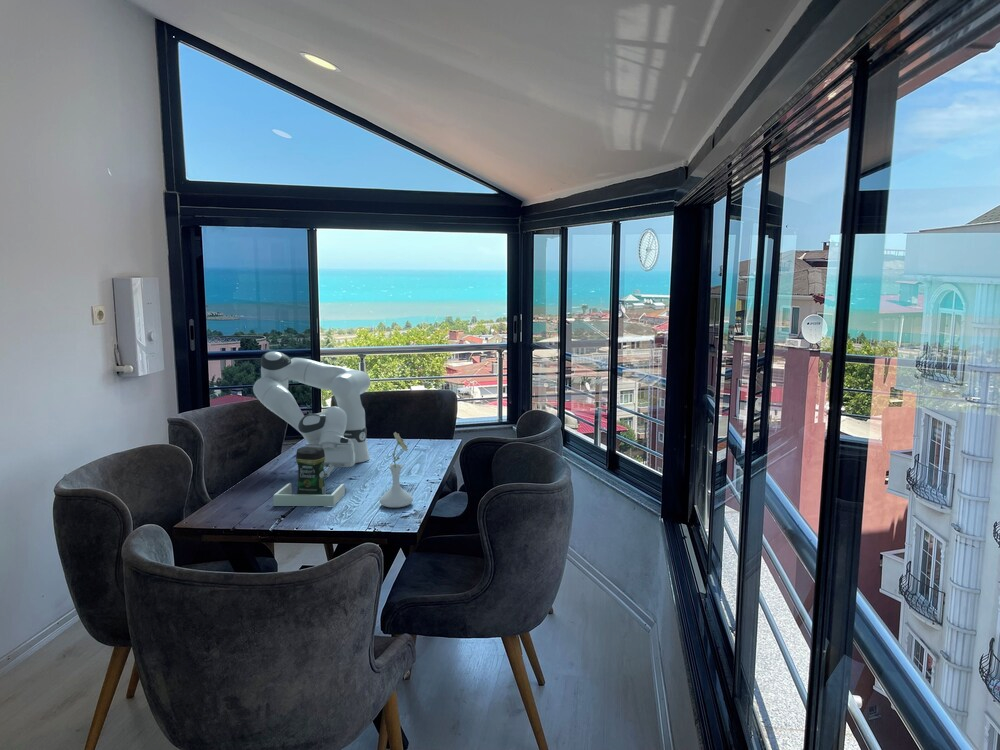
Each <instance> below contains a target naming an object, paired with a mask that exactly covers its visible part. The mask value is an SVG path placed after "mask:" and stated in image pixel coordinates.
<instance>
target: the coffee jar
mask: <svg viewBox="0 0 1000 750" xmlns="http://www.w3.org/2000/svg"><path fill="white" fill-rule="evenodd" d="M324 460H325V453H324V449H323V448H321V447H304V446H301V447H299V448H297V450H296V453H295V461H296V463H297V469H298V470H297V474H298V475H297V489H296V494H301V495H327V489H326V479H325V476H324V470H325V467H324Z"/></svg>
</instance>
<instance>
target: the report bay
mask: <svg viewBox="0 0 1000 750" xmlns="http://www.w3.org/2000/svg"><path fill="white" fill-rule="evenodd" d="M345 490H346V489H345V483H341V484H340V485H339V486H338V487H337V488H336V489H335V490H334V491H333V492H331V494H326V495H301V494H297V493H295V494H294V493H293V494H292V483H291V482H289V483H288V482H287V484H285V485H284V486H283V487H281V488H280V489H279V490H278V491H277V492H276V493H274V494H273V495H272V496H273V507H274V506H324V507H323V508H328V507H327V506H334V505H335V504H336V503H337V502H338V503H339V502H340V500H341V499H343V497H344V496H345V495H346V494H345V493H346V492H345ZM344 494H345V495H344ZM343 495H344V496H343ZM342 496H343V497H342ZM338 503H337V504H338ZM337 504H336V505H337ZM336 505H335V506H336ZM335 506H334V507H335Z"/></svg>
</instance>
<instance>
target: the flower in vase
mask: <svg viewBox="0 0 1000 750" xmlns="http://www.w3.org/2000/svg"><path fill="white" fill-rule="evenodd" d="M393 436H394V438H395V440H396V441H397V443H396V445H395V447H394V451H393V452H392V453H391V454H392V456H393V461H392V462H393V463H394V464H390V465H388V469H389V470H390V473H391V475H392V486H391V488H390V489H389V490H388V491H387V492H385V493H384V494H383V495H382V496H381V497H380V499H379V504H380V505H382V506H384V507H387V508H392V509H395V508H403V507H406V506H409V505H411V504H412V503H413V502H414V498H413V497H412V495H411V494H410V493H409V492H407V491H406V490H404V489H403V488H402V487H401V485H400V476H401V475H400V474H401V471H402V469H403V467H404V465H403V464H397V463H396V462H397V461H399V460H400V457H399V456H398V457H397V458H396V457H395V453H396V450H397V447H398V445H399V446H400V448H402V449H403V450H404V452H407V451H408V450H409V449H408V445H407V444H406V443H405V442H404V439H403V438H401V436H400V433H397V432H396V431H395V432H393Z"/></svg>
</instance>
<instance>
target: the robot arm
mask: <svg viewBox="0 0 1000 750" xmlns="http://www.w3.org/2000/svg"><path fill="white" fill-rule="evenodd" d="M289 381H295V382H298V383H301V384H304V385H307V386H309V387H310V386H311V387H314V388H316V389H320V390H326V391H327V390H328V391H331V393H332V395H333V396H334V398H335V401H336V404H337V405H336V406H333V405H332V406H329V407H328V408H326V409H325V410H323V411H321V412H318V413H309V414H304V413H303V411H302V410H301V408H300V406H299V405H298V403H297V400H296V399H295V397H294V395H293V394H292V393H291V392H290V391H289V388H290V387H289V383H290V382H289ZM370 386H371V377H370V375H369V374H368V373H366V372H365V371H363V370H357V369H353V368H348V367H345V366H344V367H343V366H337V365H333V364H332V365H331V364H327V363H325V362H320V361H318V360H317V361H316V360H314V359H313V360H312V359H308V358H304V357H293V358H291V357H289V356H288V355H287V354H285V353H283V352H281V351H278V350H277V351H276V350H271V351H267V352H266V353H264V354H262V355H261V358H260V378H258V379H257V380H256V381H255V382H254V384H253V386H252V391H253V395H255V397H256V398H257V400H258V401H260V403H261V404H262V405H263V406H264V407H266V409H268V410H269V411H270V412H272V413H273V414H274V415H276V416H278V417H279V418H280V419H282V420H284V421H285V422H286V423H288V424H289V425H290V426H291V427H292V428H293V429H294V430H296V431H297V432H298V433H299V434H300V435H301V436H302V437H303V439H304V440H305V441H306V443H307V445H305V446H303V447H321V448H323V449H324V453H325V460H324V468H328V469H326V470H325V469H324V477H330V475H331V472H333V470H334V468H351V467H353V466H354V465H355V464H359V463H364V462H366V461H367V462H368V461H369V460H371V459H370V457H371V456H370V453H369V448H368V447H369V446H368V440H367V434H368V433H367V431H368V429H367V427H366V411H365V408H364V406H363V404H362V400H361V395H362V394H364V393H365V392H366V391H367V390H368V389H369V388H370Z"/></svg>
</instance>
